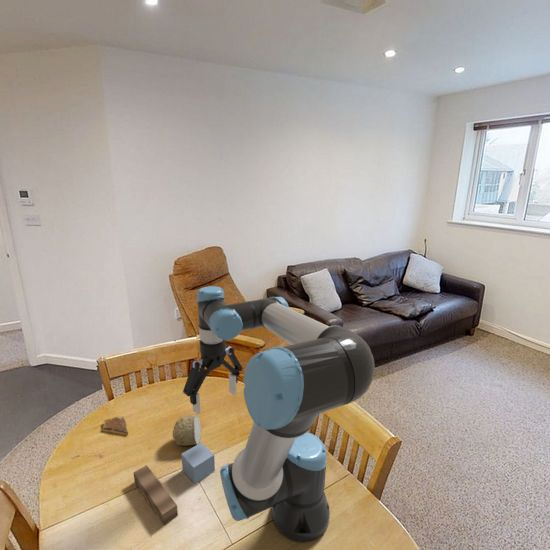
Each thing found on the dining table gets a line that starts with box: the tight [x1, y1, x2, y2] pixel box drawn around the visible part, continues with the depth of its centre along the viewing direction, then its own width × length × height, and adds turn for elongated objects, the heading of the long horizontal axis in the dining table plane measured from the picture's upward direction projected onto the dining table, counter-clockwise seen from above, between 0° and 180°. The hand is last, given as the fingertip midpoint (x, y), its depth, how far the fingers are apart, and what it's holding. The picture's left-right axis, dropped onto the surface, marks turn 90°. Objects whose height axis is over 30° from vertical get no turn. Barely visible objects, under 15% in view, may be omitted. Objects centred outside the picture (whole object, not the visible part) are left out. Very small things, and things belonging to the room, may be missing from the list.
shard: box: [101, 415, 129, 436], centre depth 124 cm, size 11×8×2 cm
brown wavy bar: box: [133, 464, 179, 526], centre depth 98 cm, size 18×4×4 cm, turn 44°
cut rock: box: [172, 414, 202, 446], centre depth 118 cm, size 10×10×10 cm
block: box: [181, 442, 216, 485], centre depth 107 cm, size 7×7×6 cm
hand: (215, 402), depth 110 cm, fingers open, 13 cm apart
